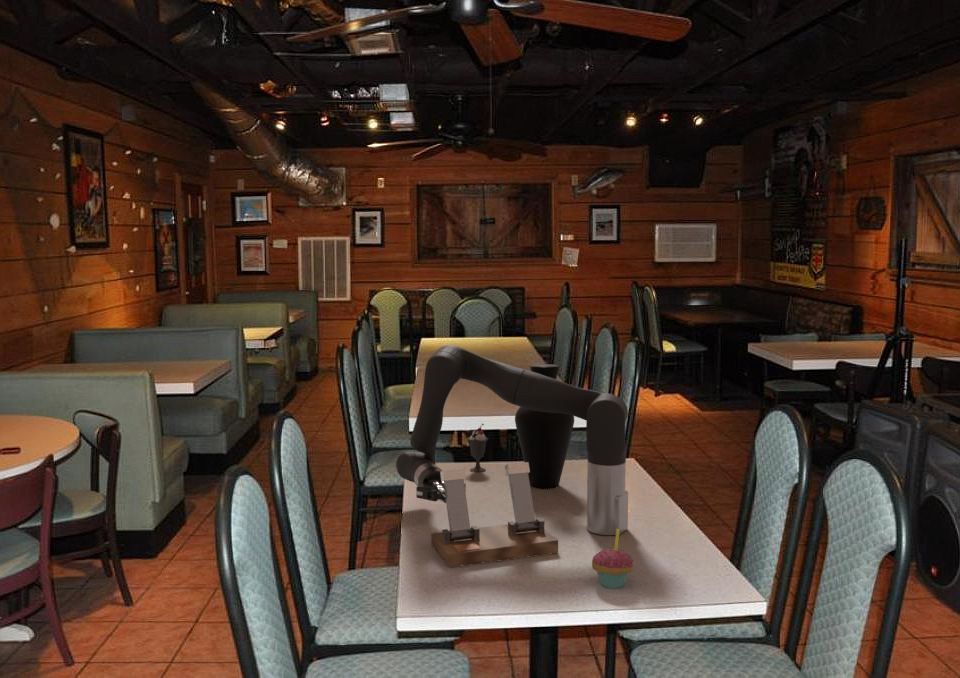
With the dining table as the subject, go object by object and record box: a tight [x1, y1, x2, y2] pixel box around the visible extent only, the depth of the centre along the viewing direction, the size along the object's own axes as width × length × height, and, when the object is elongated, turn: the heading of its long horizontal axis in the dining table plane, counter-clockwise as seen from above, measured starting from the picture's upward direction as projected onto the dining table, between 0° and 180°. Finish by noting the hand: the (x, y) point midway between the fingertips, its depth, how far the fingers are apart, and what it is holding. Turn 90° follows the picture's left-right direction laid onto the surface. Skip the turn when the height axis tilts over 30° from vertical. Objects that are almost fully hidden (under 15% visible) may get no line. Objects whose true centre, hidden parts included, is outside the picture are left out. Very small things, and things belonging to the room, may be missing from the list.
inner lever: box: [504, 462, 539, 533], centre depth 196 cm, size 5×2×16 cm, turn 109°
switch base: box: [430, 517, 559, 568], centre depth 191 cm, size 26×14×6 cm, turn 109°
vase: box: [514, 363, 575, 490], centre depth 240 cm, size 17×17×35 cm
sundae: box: [466, 423, 490, 473], centre depth 257 cm, size 7×7×15 cm
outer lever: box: [440, 467, 473, 541], centre depth 190 cm, size 5×2×16 cm, turn 109°
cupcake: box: [591, 525, 634, 589], centre depth 171 cm, size 9×8×12 cm
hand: (451, 500), depth 192 cm, fingers closed
